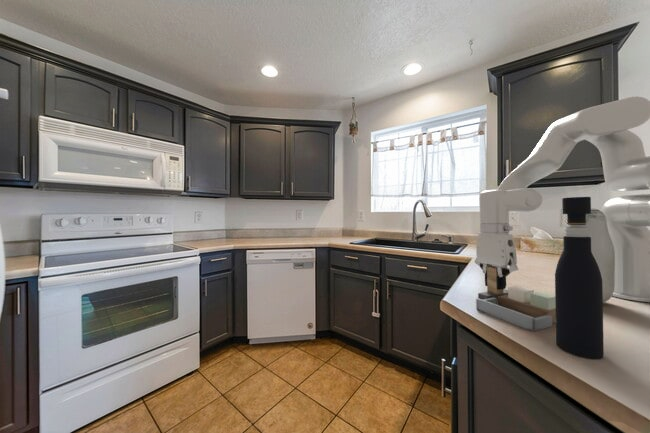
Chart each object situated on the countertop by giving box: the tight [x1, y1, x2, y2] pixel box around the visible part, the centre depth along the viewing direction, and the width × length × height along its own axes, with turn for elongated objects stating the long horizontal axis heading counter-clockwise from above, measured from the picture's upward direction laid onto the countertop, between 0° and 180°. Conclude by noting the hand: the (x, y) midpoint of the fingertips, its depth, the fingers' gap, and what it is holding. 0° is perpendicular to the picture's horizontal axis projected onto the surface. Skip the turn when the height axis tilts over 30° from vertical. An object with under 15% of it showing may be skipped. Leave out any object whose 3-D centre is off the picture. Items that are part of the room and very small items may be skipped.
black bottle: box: [554, 196, 605, 360], centre depth 47 cm, size 6×6×30 cm
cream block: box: [507, 285, 535, 303], centre depth 67 cm, size 4×4×3 cm
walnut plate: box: [497, 295, 556, 324], centre depth 66 cm, size 12×12×3 cm
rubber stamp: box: [477, 266, 508, 302], centre depth 76 cm, size 11×3×10 cm, turn 109°
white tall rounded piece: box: [562, 207, 615, 303], centre depth 72 cm, size 10×10×28 cm
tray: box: [475, 297, 553, 332], centre depth 63 cm, size 7×14×3 cm, turn 19°
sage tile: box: [530, 291, 556, 310], centre depth 62 cm, size 4×4×3 cm
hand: (495, 286), depth 76 cm, fingers closed on rubber stamp, 3 cm apart
